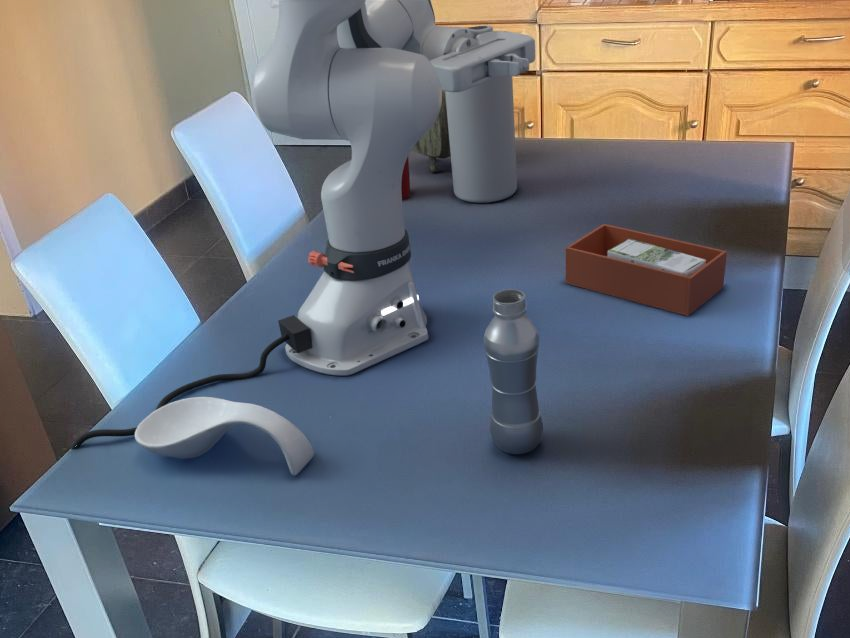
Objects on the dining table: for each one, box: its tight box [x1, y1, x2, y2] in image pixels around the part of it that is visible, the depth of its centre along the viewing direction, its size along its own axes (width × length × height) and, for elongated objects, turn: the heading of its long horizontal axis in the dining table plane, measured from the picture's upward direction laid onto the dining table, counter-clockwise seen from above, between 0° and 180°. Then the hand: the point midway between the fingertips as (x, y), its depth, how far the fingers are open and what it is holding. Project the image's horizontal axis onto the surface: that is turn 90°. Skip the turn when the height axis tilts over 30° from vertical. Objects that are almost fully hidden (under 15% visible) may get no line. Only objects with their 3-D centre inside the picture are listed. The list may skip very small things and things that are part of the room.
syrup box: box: [607, 239, 706, 277], centre depth 143 cm, size 6×6×14 cm
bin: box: [564, 223, 728, 317], centre depth 145 cm, size 22×11×6 cm, turn 51°
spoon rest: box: [134, 396, 315, 476], centre depth 117 cm, size 24×12×7 cm, turn 68°
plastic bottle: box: [483, 288, 544, 455], centre depth 109 cm, size 6×7×20 cm
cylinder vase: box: [445, 75, 518, 204], centre depth 176 cm, size 12×12×25 cm
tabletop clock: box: [410, 90, 451, 174], centre depth 188 cm, size 14×9×25 cm, turn 45°
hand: (523, 67), depth 140 cm, fingers closed
